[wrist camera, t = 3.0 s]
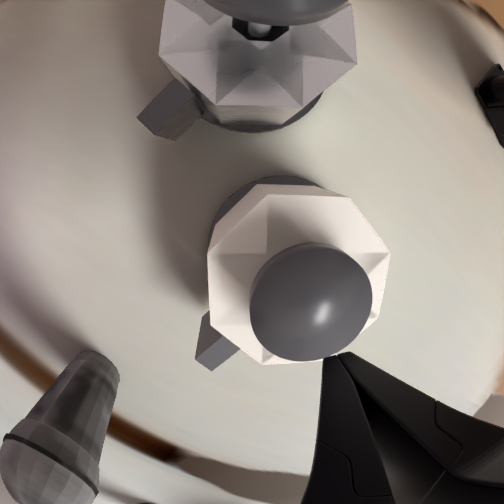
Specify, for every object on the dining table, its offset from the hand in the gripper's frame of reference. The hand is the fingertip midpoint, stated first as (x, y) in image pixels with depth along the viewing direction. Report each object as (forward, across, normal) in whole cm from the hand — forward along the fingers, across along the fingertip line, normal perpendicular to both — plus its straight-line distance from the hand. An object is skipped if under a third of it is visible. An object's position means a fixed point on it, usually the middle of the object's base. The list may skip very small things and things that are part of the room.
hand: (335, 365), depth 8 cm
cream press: (+12, +1, +1) cm, 12 cm away
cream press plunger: (+9, 0, 0) cm, 9 cm away
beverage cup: (+12, +17, +8) cm, 23 cm away
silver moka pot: (+12, +1, -12) cm, 17 cm away
